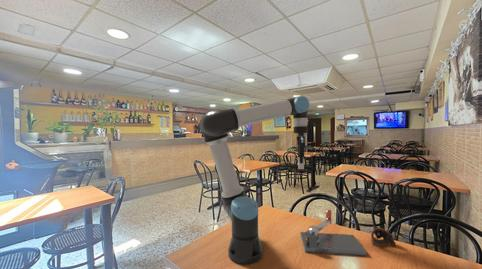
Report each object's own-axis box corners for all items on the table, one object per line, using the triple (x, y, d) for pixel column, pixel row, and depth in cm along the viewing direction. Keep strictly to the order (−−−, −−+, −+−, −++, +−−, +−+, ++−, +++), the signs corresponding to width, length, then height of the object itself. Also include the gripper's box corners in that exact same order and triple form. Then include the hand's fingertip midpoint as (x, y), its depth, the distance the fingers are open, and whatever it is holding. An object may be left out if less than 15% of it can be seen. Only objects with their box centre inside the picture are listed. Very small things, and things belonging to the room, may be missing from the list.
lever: (312, 244, 92) (312, 224, 92) (303, 240, 95) (303, 221, 95) (334, 227, 107) (333, 210, 107) (325, 225, 111) (325, 208, 110)
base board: (305, 252, 91) (304, 236, 91) (300, 236, 105) (300, 222, 105) (366, 256, 87) (366, 239, 87) (353, 238, 101) (353, 224, 101)
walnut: (306, 244, 94) (306, 238, 94) (305, 241, 96) (305, 235, 96) (312, 244, 93) (311, 238, 93) (310, 241, 96) (310, 235, 96)
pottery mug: (402, 251, 91) (397, 237, 89) (381, 259, 93) (375, 245, 91) (385, 231, 103) (379, 219, 101) (366, 238, 104) (361, 226, 102)
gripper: (309, 125, 106) (310, 171, 107) (305, 126, 119) (306, 166, 120) (294, 125, 108) (295, 171, 108) (292, 126, 120) (292, 166, 121)
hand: (301, 168), depth 114 cm, fingers closed
